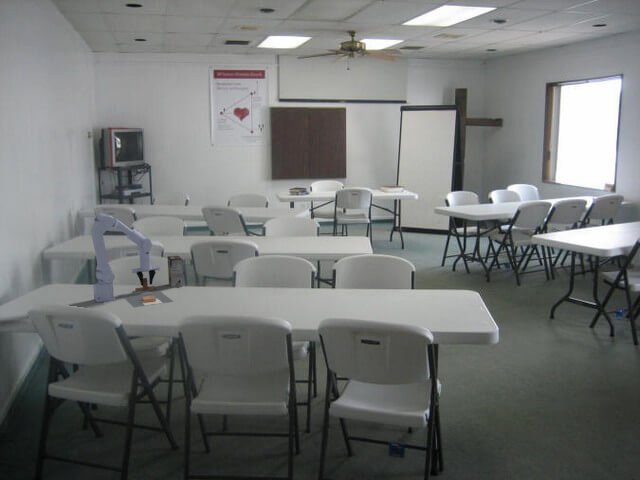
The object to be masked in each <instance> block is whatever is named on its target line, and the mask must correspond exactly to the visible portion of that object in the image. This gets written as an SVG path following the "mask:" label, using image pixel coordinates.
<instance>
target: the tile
mask: <svg viewBox="0 0 640 480" xmlns="http://www.w3.org/2000/svg"><path fill="white" fill-rule="evenodd" d="M142 300H143V302H144V303H145V302H154V301H156V298H155V297H154V296H144V297H142Z"/></svg>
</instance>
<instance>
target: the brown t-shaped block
mask: <svg viewBox="0 0 640 480" xmlns="http://www.w3.org/2000/svg"><path fill="white" fill-rule="evenodd" d="M153 289H154V290H156V286H155V285H150V286H149V285H148V278H147V277H143V286H141V287H135V292H145V291H152V290H153Z"/></svg>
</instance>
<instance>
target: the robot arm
mask: <svg viewBox="0 0 640 480" xmlns="http://www.w3.org/2000/svg"><path fill="white" fill-rule="evenodd" d="M112 227H113V228H116V229H118V230H119V231H121V232H122V233H124V234H125V235H126V236H127V239H128V240H130V241H131V242H132V243H134V244H135V245H137V247H139V248H138V249H139V252H138V253H139V254H138V255H139V267H138V268H132V269H131V273H132V274H136V275H137V277H138V278H139V282H140V285H141V287H143V278H144V274H143V273H145V272H148V276H149V279H148V280H149V285H150V286H153V282H154V281H153V279H154V278H155V275H156V273H157V271H160V270H161V268H160V266H159V265H157V266H152V255H151V253H152V252H151V248H152V247H153V243H152V241H151V239H149V238H148V237H147V238H146V235H145V234H141V233H140V232H139V230H138V229H130V228H129V227H128V226H127V225H126V224H124V223H123V222H122V221H120V220H119V219H117V218H116V217H113V216H112V215H109V214H105V213H101V212H100V213H99V214H97V215H96V216H95V217H94V218H93V225H92V227H91V230H90V231H91V232H90V233H91V238H92V244H93V248H94V253H95V254H94V255H95V259H96V263H97V265H96V268H95V269H96V271H95V278H96V279H97V283H94V284H93V300H94V301H96V303H103V302H107V301H113V300H116V297H115V296H114V281H115V277H116V276H115V274H114V273H115V272H113V271H112V267H111V266H110V264H109V259H108V255H107V250H106V249H107V248H106V245H105V238H104V234H105V232H106V231H108V230H110V229H111V228H112Z"/></svg>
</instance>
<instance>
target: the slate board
mask: <svg viewBox="0 0 640 480" xmlns="http://www.w3.org/2000/svg"><path fill="white" fill-rule="evenodd" d="M144 296H154V297H155V298H156V301H154V302H145V303H144V302H143V300H142V297H144ZM122 298H123V299H125V300H126V302H128V303H129V304H130V305H131V306H132V307H133V308H138V307H139V308H140V307H147V306H154V305H159V304H160V305H162V304H166V303H173V302H174V300H172V299H171V298H170V297H168V296H167V295H165V294H164V293H163V292H162V291H156V292H148V293H141V294H133V295H126V296H122Z"/></svg>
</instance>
